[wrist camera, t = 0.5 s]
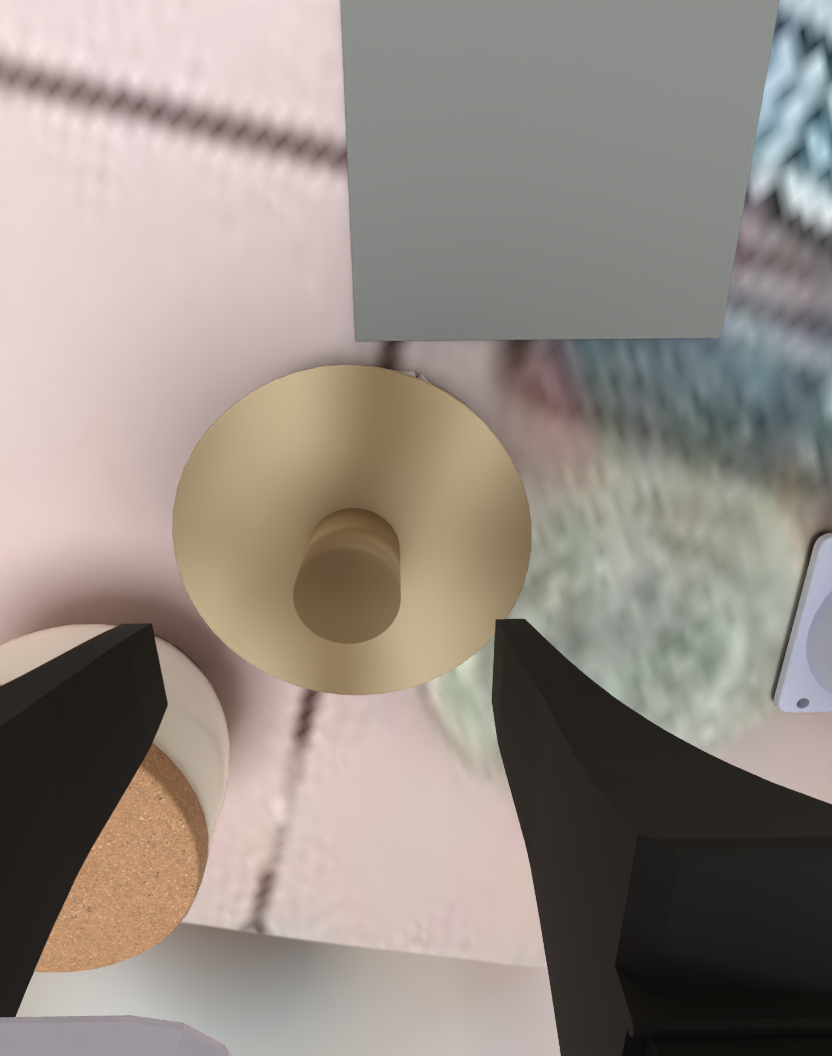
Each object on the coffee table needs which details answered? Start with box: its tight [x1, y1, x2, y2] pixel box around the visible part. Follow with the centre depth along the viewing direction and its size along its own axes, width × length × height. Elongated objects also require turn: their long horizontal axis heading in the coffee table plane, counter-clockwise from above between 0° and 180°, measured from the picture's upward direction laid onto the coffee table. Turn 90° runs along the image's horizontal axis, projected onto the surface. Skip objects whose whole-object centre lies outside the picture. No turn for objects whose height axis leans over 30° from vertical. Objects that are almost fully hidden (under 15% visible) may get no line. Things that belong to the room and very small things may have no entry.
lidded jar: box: [0, 624, 230, 972], centre depth 20 cm, size 11×11×9 cm
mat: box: [341, 0, 779, 341], centre depth 17 cm, size 12×12×1 cm
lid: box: [172, 364, 531, 695], centre depth 16 cm, size 11×11×4 cm
